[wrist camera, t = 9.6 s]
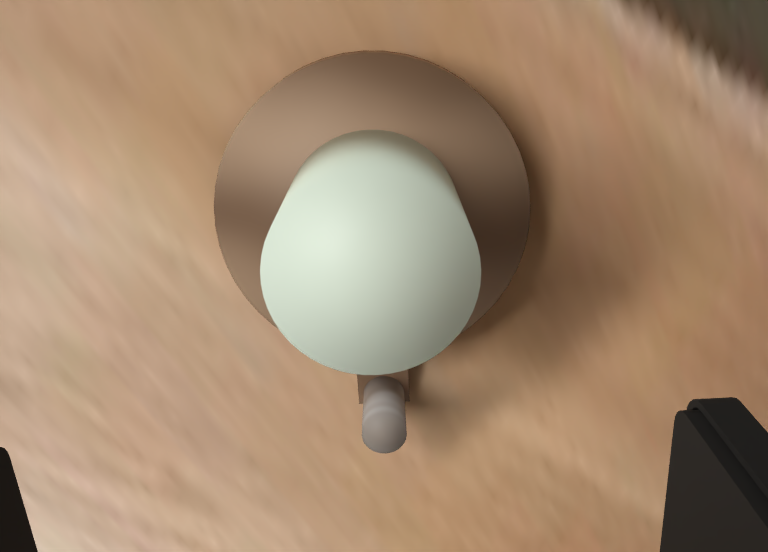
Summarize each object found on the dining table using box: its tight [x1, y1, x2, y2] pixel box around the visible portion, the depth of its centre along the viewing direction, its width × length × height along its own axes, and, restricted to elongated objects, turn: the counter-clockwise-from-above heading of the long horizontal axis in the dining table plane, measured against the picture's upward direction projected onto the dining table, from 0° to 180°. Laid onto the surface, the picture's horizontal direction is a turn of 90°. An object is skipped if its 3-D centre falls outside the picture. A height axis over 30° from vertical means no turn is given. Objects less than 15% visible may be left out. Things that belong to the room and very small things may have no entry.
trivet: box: [214, 51, 530, 453], centre depth 26 cm, size 14×11×4 cm
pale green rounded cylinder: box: [260, 130, 481, 375], centre depth 23 cm, size 8×6×6 cm
